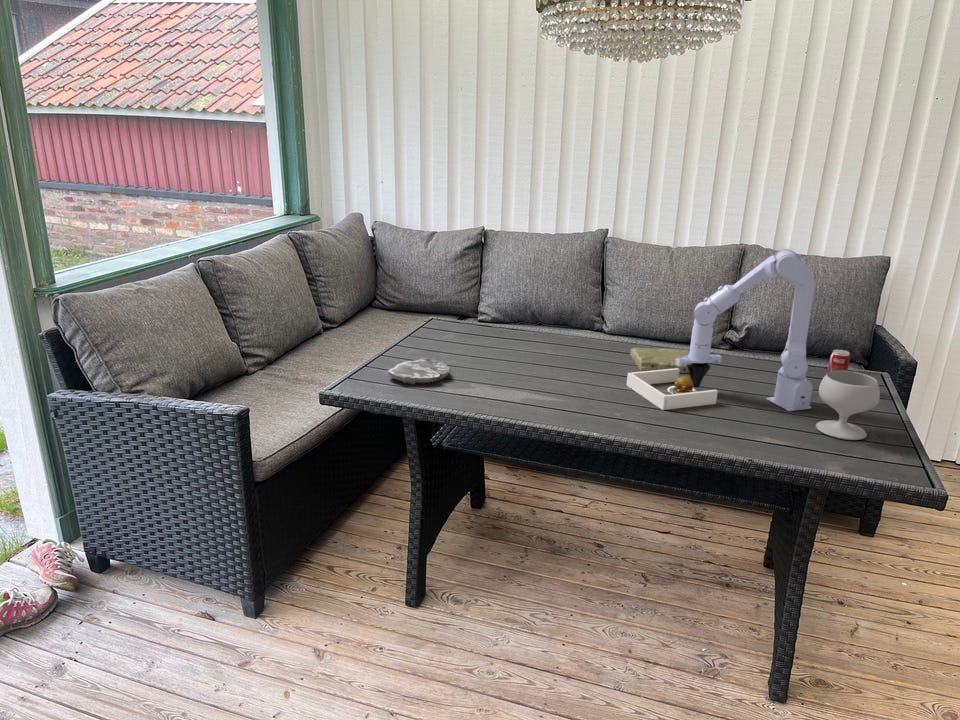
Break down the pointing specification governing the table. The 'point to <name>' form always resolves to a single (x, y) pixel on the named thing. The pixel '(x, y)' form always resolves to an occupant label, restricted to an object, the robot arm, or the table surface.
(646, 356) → the decorative tile
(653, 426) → the table surface
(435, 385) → the table surface
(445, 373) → the brain slice
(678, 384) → the hamburger
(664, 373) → the box
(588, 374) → the table surface
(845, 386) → the chalice
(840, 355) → the soda can
